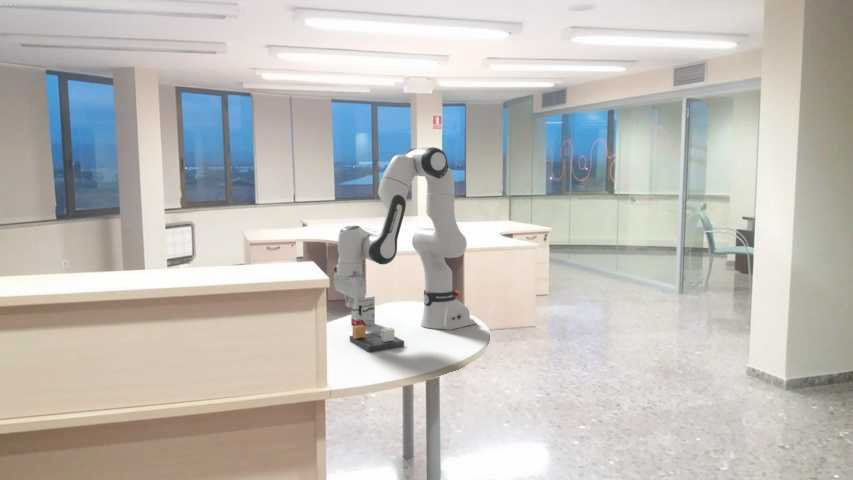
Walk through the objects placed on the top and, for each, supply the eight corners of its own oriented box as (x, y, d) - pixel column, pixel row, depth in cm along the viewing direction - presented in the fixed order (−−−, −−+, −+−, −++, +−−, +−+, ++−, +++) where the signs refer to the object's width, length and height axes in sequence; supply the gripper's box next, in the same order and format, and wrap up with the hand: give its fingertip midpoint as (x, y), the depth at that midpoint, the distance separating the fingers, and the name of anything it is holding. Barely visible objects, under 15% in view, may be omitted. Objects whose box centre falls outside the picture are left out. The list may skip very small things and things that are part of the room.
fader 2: (391, 338, 234) (391, 327, 233) (394, 340, 231) (394, 329, 231) (381, 340, 231) (381, 328, 231) (384, 341, 229) (384, 330, 229)
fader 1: (362, 335, 238) (362, 324, 237) (365, 337, 235) (365, 326, 235) (352, 337, 236) (352, 325, 235) (355, 338, 233) (355, 327, 233)
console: (383, 336, 245) (383, 330, 245) (404, 346, 232) (404, 340, 231) (349, 341, 238) (349, 335, 238) (368, 352, 225) (368, 346, 224)
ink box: (356, 327, 258) (356, 298, 257) (351, 324, 263) (350, 296, 261) (375, 324, 263) (375, 295, 262) (369, 321, 267) (369, 293, 266)
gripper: (370, 273, 231) (369, 311, 233) (346, 265, 249) (346, 301, 250) (353, 274, 228) (353, 313, 230) (331, 266, 246) (331, 302, 247)
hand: (349, 306), depth 240 cm, fingers closed
